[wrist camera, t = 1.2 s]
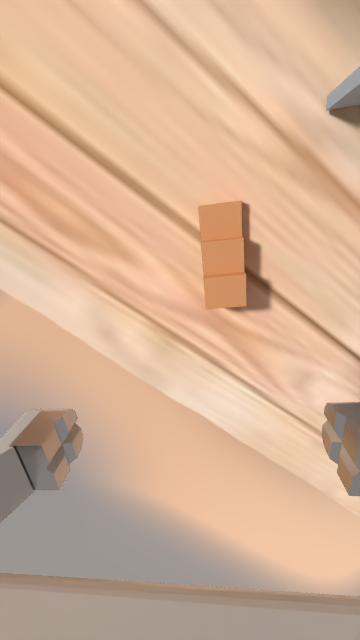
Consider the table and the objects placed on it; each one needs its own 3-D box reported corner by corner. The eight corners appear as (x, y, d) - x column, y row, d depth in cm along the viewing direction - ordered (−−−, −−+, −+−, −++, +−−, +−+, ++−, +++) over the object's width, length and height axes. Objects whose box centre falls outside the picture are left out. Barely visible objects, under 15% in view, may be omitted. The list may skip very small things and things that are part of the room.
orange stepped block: (242, 295, 36) (246, 306, 32) (205, 298, 36) (206, 309, 32) (240, 200, 31) (244, 200, 27) (198, 206, 31) (197, 206, 28)
